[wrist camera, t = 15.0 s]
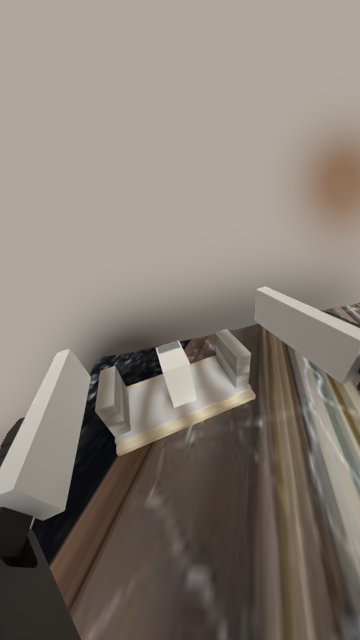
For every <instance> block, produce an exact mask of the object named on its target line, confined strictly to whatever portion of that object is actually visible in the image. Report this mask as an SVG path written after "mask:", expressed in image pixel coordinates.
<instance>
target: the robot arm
mask: <svg viewBox="0 0 360 640" xmlns="http://www.w3.org/2000/svg"><path fill="white" fill-rule="evenodd" d="M254 320H255V321H256V322H257V323H259V324H260V325H261V326H263V327H264V328H265V329H267V330H268V331H269V332H271V333H272V334H274V335H275V336H276V337H278V338H279V339H280V340H282V341H283V342H284V343H286V344H287V345H289V346H290V347H291V348H293V349H294V350H295V351H297V352H298V353H299V354H301V355H302V356H304V357H305V358H306V359H308V360H309V361H310V362H312V363H313V364H314V365H316V366H317V367H319V368H320V369H321V370H323V371H324V372H325V373H327V374H328V375H329V376H331V377H332V378H334V379H335V380H336V381H338V382H339V383H340V384H344V383H346V382H348V381H351V380H353V379H354V378H355V376H356V375H357V373H358V371H360V325H358V324H356V323H353V322H349V320H346V319H344V318H341V317H339V316H337V315H335V314H333V313H330V312H326V311H322V310H317V309H315V308H313V307H311V306H308V305H306V304H304V303H302V302H299V301H297V300H295V299H293V298H290V297H288V296H286V295H283V294H281V293H279V292H277V291H274V290H272V289H270V288H268V287H263V288H259V289H256V302H255V318H254ZM90 379H91V377H90V375H89V374H88V373H87V371H86V370H85V368H84V367H83V366H82V364H81V363H80V361H79V360H78V359H77V357H76V356H75V354H74V353H73V352H72V350H71V349H67V350H64V351H61V352H58V353H57V354H56V356H55V358H54V360H53V362H52V364H51V366H50V368H49V370H48V372H47V375H46V376H45V378H44V380H43V382H42V384H41V386H40V388H39V390H38V392H37V394H36V396H35V399H34V400H33V403H32V405H31V407H30V409H29V411H28V413H27V415H26V417H24V418H21V419H19V420H18V421H17V422H16V424H15V425H14V426H13V427H12V428H11V430H10V431H9V432H8V433H7V436H6V437H5V439H4V441H3V443H2V445H1V449H0V640H81V639H80V636H79V634H78V632H77V630H76V627H75V625H74V623H73V620H72V618H71V616H70V614H69V611H68V609H67V607H66V604H65V602H64V600H63V598H62V595H61V593H60V591H59V588H58V586H57V584H56V581H55V579H54V577H53V575H52V572H51V570H50V568H49V565H48V563H47V561H46V559H45V556H44V554H43V552H42V549H41V547H40V545H39V543H38V540H37V538H36V536H35V533H34V532H33V531H32V530H31V529H30V526H31V522H32V519H33V517H34V518H37V519H40V520H45V519H47V518H50V517H52V516H54V515H56V514H58V513H61V512H63V511H65V507H66V502H67V497H68V492H69V487H70V481H71V476H72V471H73V466H74V461H75V456H76V451H77V446H78V441H79V436H80V430H81V425H82V420H83V415H84V410H85V405H86V400H87V395H88V390H89V385H90ZM357 389H358V390H359V391H360V383H359V384H358V386H357Z"/></svg>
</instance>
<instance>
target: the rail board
mask: <svg viewBox="0 0 360 640" xmlns="http://www.w3.org/2000/svg"><path fill="white" fill-rule="evenodd" d="M215 344H216V355H215V356H212V357H209V358H206V359H203V360H201V361H198V362H195V363H192V364H190V367H191V373H192V378H193V384H194V389H195V395H196V400H193V401H191V402H188V403H186V404H183V405H181V406H178V407H175V408H174V407H173V403H172V400H171V397H170V394H169V391H168V388H167V385H166V381H165V378H164V375H163V374H161V375H159V376H156V377H153V378H150V379H147V380H145V381H142V382H139V383H136V384H134V385H131V386H128V387H126V386H125V384H124V382H123V380H122V378H121V377H120V375H119V373H118V371H117V369H116V367H115V366H114V367H111V368H108V369H105V370H102V371H100V377H99V385H98V393H97V400H96V408H95V412H96V413H97V414H98V415H99V417H100V418H101V419H102V421H103V422H104V423H105V425H106V426H107V427H108V428H109V430H110V431H111V432H112V434H113V435H114V436H115V443H116V445H117V450H116V454H117V455H118V456H121V455H123V454H125V453H128V452H130V451H133V450H135V449H137V448H140V447H142V446H144V445H147V444H149V443H151V442H154V441H156V440H158V439H161V438H163V437H165V436H168V435H170V434H173V433H175V432H177V431H180V430H182V429H184V428H187V427H189V426H191V425H194V424H196V423H198V422H201V421H203V420H206V419H208V418H210V417H213V416H215V415H217V414H220V413H222V412H224V411H227V410H229V409H231V408H234V407H236V406H238V405H241V404H243V403H246V402H248V401H250V400H253V399H255V396H256V395H255V393H254V392H253V391H252V390H251V386H250V385H249V383H248V382H249V370H250V358H251V353H250V352H249V351H248V350H247V349H246V348H245V347H244V346H243V345H242V344H241V343H240V342H239V341H238V340H237V339H236V338H235V337H234V336H233V335H232V334H231V333H230V332H229V331H228V330H227V329H225V330H222V331H219V332H216V333H215Z"/></svg>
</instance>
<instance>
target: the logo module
mask: <svg viewBox="0 0 360 640" xmlns="http://www.w3.org/2000/svg"><path fill="white" fill-rule="evenodd" d="M156 350H157V354H158V357H159V361H160V365H161V368H162V372H163V375H164V378H165V381H166V385H167V388H168V391H169V394H170V397H171V400H172V403H173V407H174V408H175V407H178V406H181V405H183V404H186V403H188V402H191V401H193V400H196V395H195V389H194V384H193V378H192V373H191V367H190V363H189V361H188V359H187V357H186V354H185V352H184V350H183V348H182V346H181V344H180V342H179V341H176V342H172V343H170V344H166V345H163V346H160V347H157V348H156Z"/></svg>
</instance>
